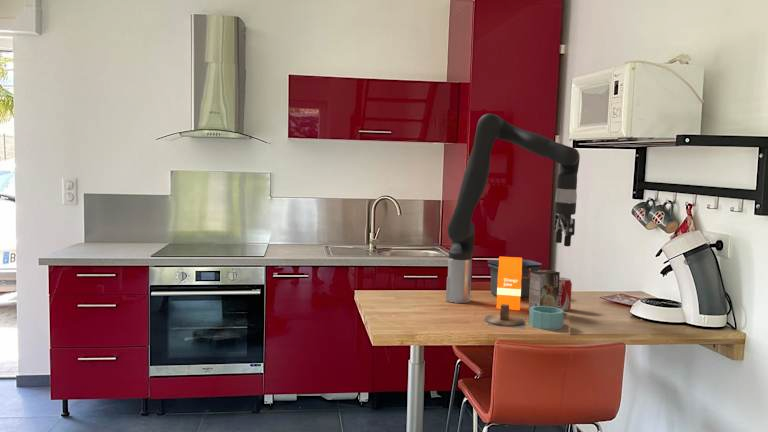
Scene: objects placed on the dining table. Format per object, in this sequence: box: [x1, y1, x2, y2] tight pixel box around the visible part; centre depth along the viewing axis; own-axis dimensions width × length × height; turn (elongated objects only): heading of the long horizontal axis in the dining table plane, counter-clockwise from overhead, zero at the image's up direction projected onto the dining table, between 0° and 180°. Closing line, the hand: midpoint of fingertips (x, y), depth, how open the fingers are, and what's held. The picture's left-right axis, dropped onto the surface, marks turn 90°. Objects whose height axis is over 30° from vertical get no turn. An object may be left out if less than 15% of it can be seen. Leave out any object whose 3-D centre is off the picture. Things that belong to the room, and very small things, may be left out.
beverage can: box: [558, 277, 573, 312], centre depth 245 cm, size 6×6×12 cm
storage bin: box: [487, 259, 543, 298], centre depth 268 cm, size 21×16×14 cm
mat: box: [483, 314, 526, 329], centre depth 223 cm, size 14×14×1 cm
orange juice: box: [495, 256, 523, 311], centre depth 244 cm, size 8×9×20 cm
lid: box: [486, 304, 523, 327], centre depth 222 cm, size 13×13×6 cm
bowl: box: [528, 306, 565, 331], centre depth 219 cm, size 11×11×6 cm
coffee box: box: [528, 269, 561, 312], centre depth 237 cm, size 9×6×16 cm
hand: (562, 244), depth 238 cm, fingers open, 8 cm apart
